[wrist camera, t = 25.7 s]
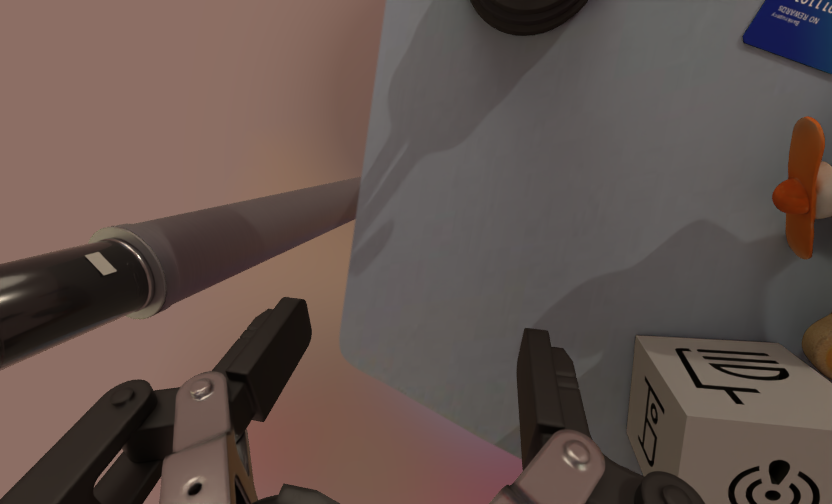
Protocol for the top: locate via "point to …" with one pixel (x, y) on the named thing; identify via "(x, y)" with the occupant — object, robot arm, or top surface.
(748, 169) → the top surface
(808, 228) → the toy helicopter
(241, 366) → the robot arm
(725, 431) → the icon cube
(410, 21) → the top surface
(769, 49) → the credit card
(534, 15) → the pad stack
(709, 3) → the top surface
